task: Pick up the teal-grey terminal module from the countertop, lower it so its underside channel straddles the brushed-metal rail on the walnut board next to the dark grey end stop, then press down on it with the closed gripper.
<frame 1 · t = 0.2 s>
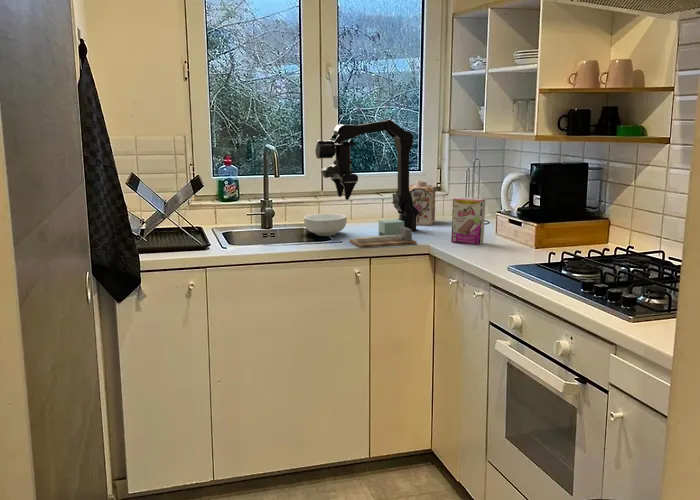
hand: (343, 198, 278), 14 cm above the worktop, fingers open, 9 cm apart
terminal module: (391, 236, 277), on the worktop
decorative jar: (419, 223, 308), on the worktop
cereal bowl: (325, 234, 281), on the worktop
candy bar box: (467, 243, 264), on the worktop
end stop: (404, 241, 266), resting on mounting board
metal rail: (382, 238, 263), on the mounting board, point 1 cm above the worktop
mounting board: (382, 243, 264), on the worktop
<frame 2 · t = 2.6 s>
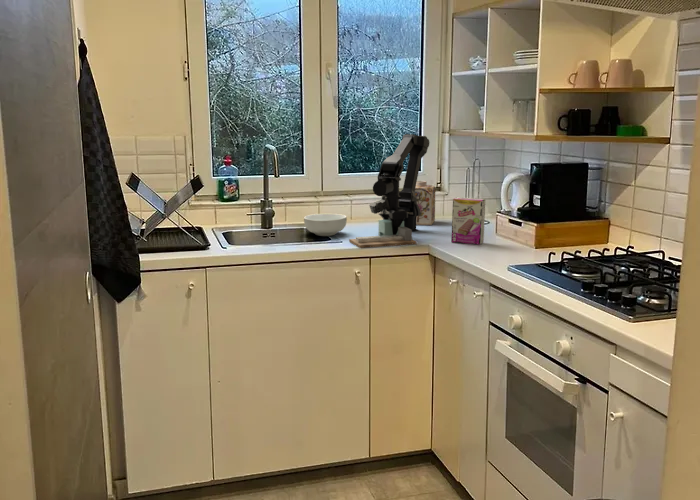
hand: (391, 233, 277), 1 cm above the worktop, fingers closed on terminal module, 6 cm apart
terminal module: (391, 236, 277), on the worktop, touching gripper
everything else where it was.
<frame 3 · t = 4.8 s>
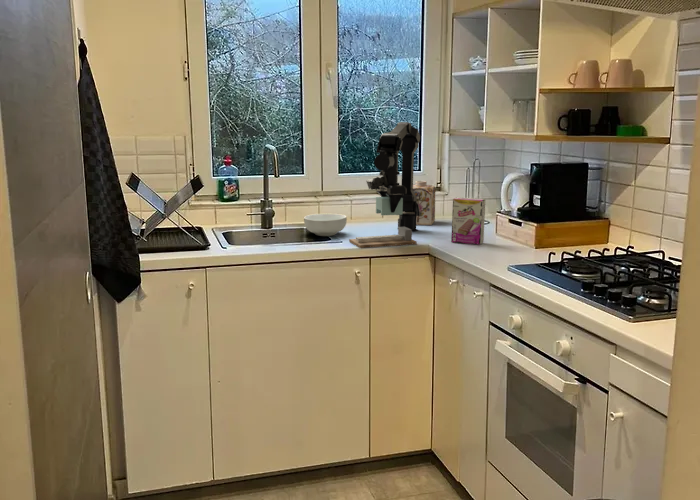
hand: (389, 211, 263), 12 cm above the worktop, fingers closed on terminal module, 6 cm apart
terminal module: (389, 213, 263), point 11 cm above the worktop, touching gripper
everything else where it was.
when the fingers open (3 cm above the worktop, at t = 6.9 s): terminal module drops 1 cm, resting on mounting board.
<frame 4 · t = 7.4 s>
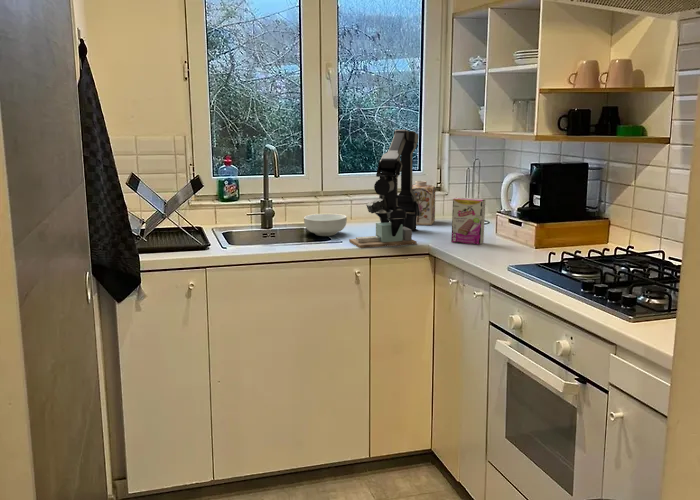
hand: (389, 234, 264), 3 cm above the worktop, fingers open, 9 cm apart
terminal module: (389, 239, 264), point 1 cm above the worktop, touching mounting board
everything else where it was.
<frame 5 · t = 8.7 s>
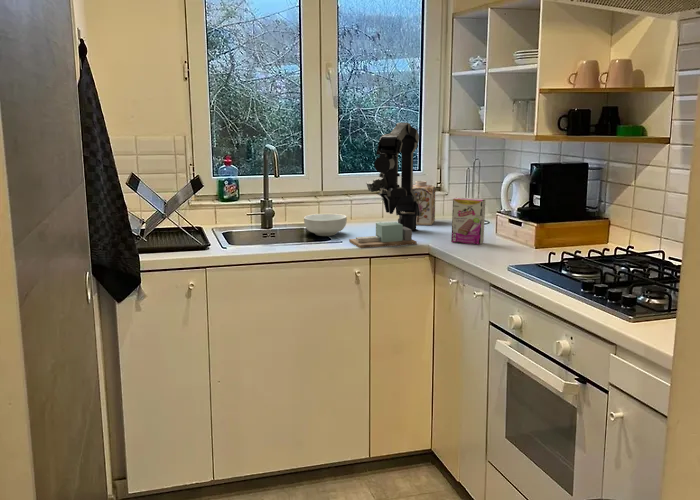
hand: (389, 213, 262), 11 cm above the worktop, fingers open, 3 cm apart
nothing on the worktop moved.
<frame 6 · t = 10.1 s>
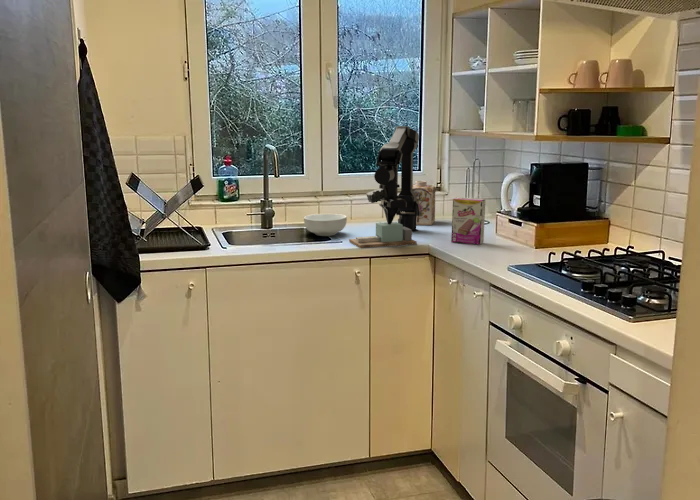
hand: (389, 224, 263), 7 cm above the worktop, fingers closed, pressing on terminal module
terminal module: (389, 239, 264), point 1 cm above the worktop, touching gripper, mounting board
everything else where it was.
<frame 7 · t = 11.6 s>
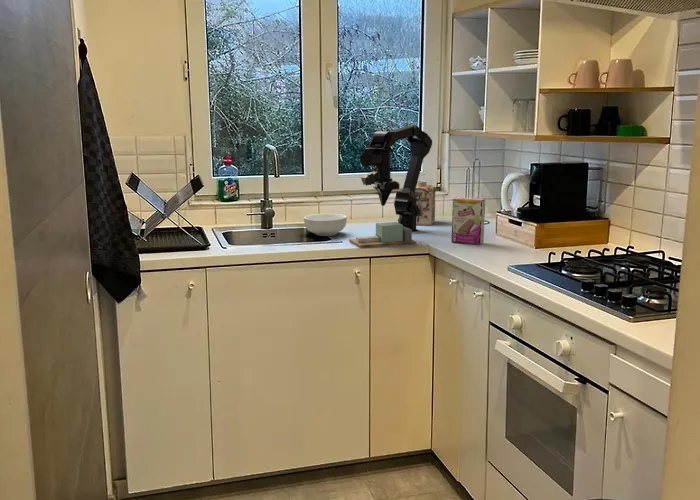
hand: (383, 205, 275), 12 cm above the worktop, fingers closed
terminal module: (389, 239, 264), point 1 cm above the worktop, touching mounting board
everything else where it was.
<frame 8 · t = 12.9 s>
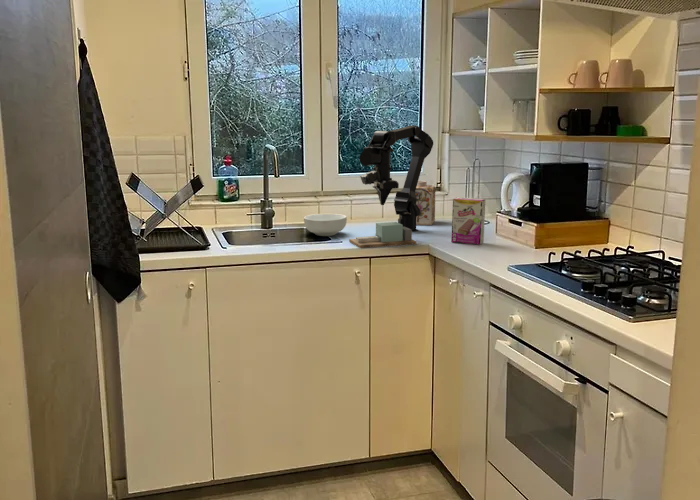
hand: (382, 204, 276), 12 cm above the worktop, fingers closed
nothing on the worktop moved.
at the end: terminal module 0.0 cm from the target spot on the mounting board, point 1.0 cm above the mounting board's base; terminal module tilted 0°; the gripper is holding nothing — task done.
